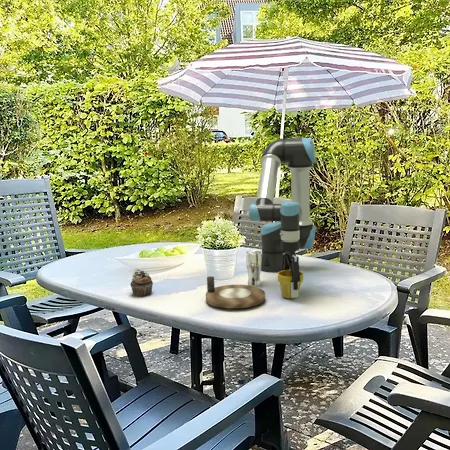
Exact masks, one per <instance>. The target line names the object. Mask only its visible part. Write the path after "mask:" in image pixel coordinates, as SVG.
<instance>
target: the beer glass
mask: <svg viewBox="0 0 450 450" xmlns="http://www.w3.org/2000/svg"><path fill="white" fill-rule="evenodd" d="M261 255H262V250H261V251H260V250H255V249H254V250H249V251H246V255H245V259H246V260H245V263H246V269H247V270H246V271H247V275H248V276H247V277H248V280H247V285H249V286H254V287H260V286H261V285H262V281H261V272H262V270H261V266H262V256H261Z"/></svg>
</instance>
